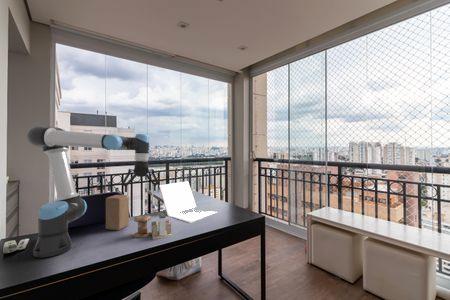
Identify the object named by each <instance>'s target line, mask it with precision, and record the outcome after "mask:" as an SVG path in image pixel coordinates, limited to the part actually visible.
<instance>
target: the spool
mask: <svg viewBox="0 0 450 300" xmlns="http://www.w3.org/2000/svg"><path fill="white" fill-rule="evenodd" d="M151 218H152V217H151V215H139V216H135V217H134V218H133V221H134V222H136V223H137V231H136V232H134V235H133V237H134V238H136V239H143V238H148V237H150V236H152V233H151V231H150V230H148V222H149V221H151Z"/></svg>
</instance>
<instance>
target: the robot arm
mask: <svg viewBox="0 0 450 300" xmlns="http://www.w3.org/2000/svg"><path fill="white" fill-rule="evenodd" d="M26 138H27V139H26V140H27V141H28V142H29V143H30V144H31V145H32V146H34V147H37V148H41V149H42V151H43V153H44V154H46V155H47V156H48V161H49V165H50V169H51V175H52V178H53V183H54V185H55V186H54V187H55V191H56V195H57V197H56V198H55V200H54V201H52V202H48V203H45V204H44V205H41V207H39V208H38V214H37V219H38V223H37V224H38V227H37V228H38V231H37V233H38V236H37V237H38V238H37V241H36V243H35V246H34V248H33V256H34V257H35V258H49V257H54V256H57V255H61V254H63V253H65V252H67V251H69V250H71V249H72V246H73V243H72V239H71V237H70V234H69V232H68V231H69V228H68V226H69V224H70V223H72V222H74V221H75V220H78V219H80V218H82V217H83V215H84V214H85V213H86V211H87V208H88V205H87V202H86V201H85V199H83V198H81V194H80V193H78V192H77V189H76V186H75V181H74V178H73V173H72V169H71V165H70V162H69V157H68V151H69V150H70V147H77V148H89V149H90V148H92V149H103V150H111V151H115V150H116V151H134V160H135V161H134V166H133V167H134V168H132V169H131V168H128V169H127V171H128V172H127V174H126V175H125V177H124V179H123V180H122V182H121V186H123V187H124V193H126V195H127V198H128V196H129V187H130V186H129V185H130V184H131V183H132V182H133V180H135V178H137V177H139V178H140V177H142V178H143V177H146V178H147V179H148V180H149V181H150V182H151V183H152V185H151V198H154V194H155V193H154V192H156V187H157V186H158V185H160V183H159V180H158V177H157V176H156V174H155V171H154V168H151V169H149V157H150V152H149V151H150V135H149V134H146V133H136V134H135V136H133V137H131V136H130V137H129V136H121V135H117V134H105V133H104V134H103V133H94V132H93V133H92V132H81V131H70V130H69V131H68V130H65V129H64V128H61V127H54V126H48V125H42V124H41V125H40V124H39V125H35V126H33V127H31V128H30V129H28V131H27V133H26ZM149 172H150V174H151V175H152V177H153V179H154V180H153V179H152V178H151V177H150V176H149V174H148V173H149ZM131 173H134V174H133V176H132V177H130V178H129V176H130V175H131ZM128 178H129V180H128ZM127 180H128V181H127ZM154 181H155V182H154Z"/></svg>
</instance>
